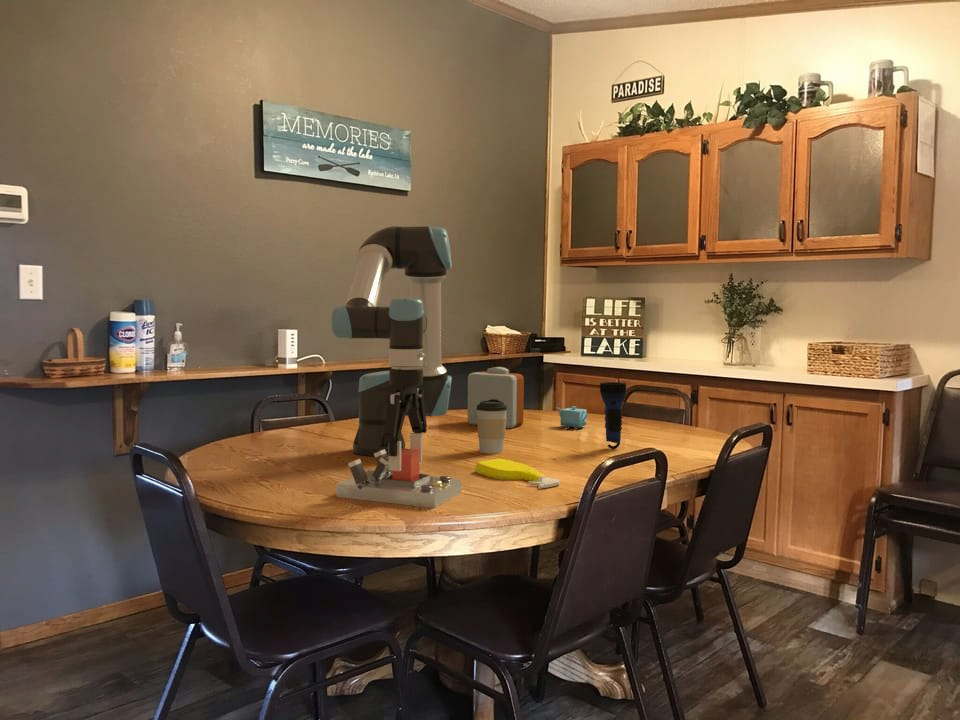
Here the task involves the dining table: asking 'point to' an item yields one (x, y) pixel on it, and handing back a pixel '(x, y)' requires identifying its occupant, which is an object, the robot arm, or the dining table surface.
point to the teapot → (573, 417)
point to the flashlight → (613, 410)
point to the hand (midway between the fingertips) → (405, 465)
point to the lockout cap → (408, 465)
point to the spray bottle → (514, 472)
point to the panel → (401, 489)
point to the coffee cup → (491, 426)
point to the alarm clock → (497, 393)
